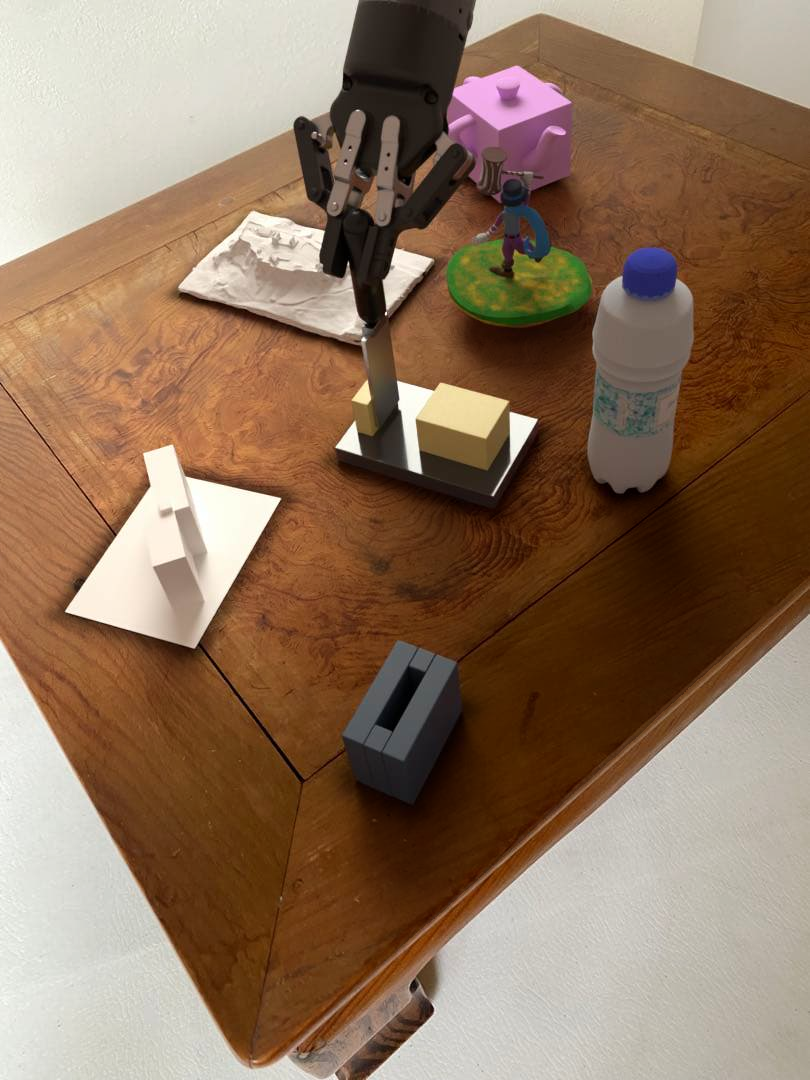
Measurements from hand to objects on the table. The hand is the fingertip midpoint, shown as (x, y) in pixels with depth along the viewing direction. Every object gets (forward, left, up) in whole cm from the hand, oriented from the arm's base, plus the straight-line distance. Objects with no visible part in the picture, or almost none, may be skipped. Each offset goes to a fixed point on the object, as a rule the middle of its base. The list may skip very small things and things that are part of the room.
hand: (350, 278), depth 69 cm
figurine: (-3, -21, -17) cm, 27 cm away
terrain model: (+18, -18, -17) cm, 30 cm away
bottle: (-19, -5, -17) cm, 26 cm away
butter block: (-7, -2, -15) cm, 17 cm away
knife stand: (-14, +23, -17) cm, 32 cm away
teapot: (+6, -40, -17) cm, 44 cm away
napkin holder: (+9, +16, -17) cm, 25 cm away
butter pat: (+1, -2, -15) cm, 15 cm away
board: (-4, -2, -17) cm, 18 cm away
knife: (0, -2, -15) cm, 15 cm away
